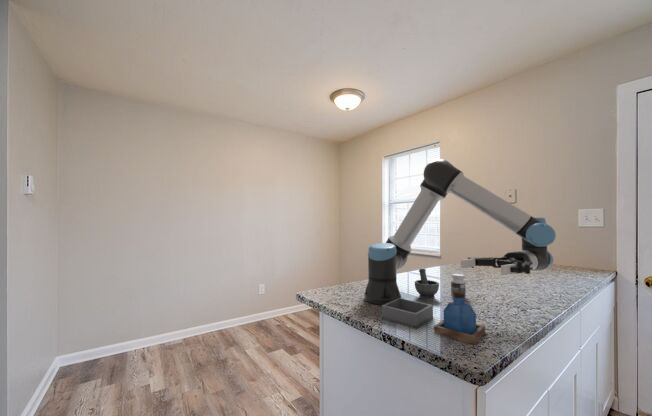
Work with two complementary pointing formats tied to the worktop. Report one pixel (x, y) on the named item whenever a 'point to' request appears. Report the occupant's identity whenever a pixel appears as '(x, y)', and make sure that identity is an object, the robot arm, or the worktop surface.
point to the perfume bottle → (460, 315)
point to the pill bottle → (458, 284)
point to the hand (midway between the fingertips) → (480, 266)
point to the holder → (460, 333)
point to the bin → (407, 312)
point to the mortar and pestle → (426, 287)
